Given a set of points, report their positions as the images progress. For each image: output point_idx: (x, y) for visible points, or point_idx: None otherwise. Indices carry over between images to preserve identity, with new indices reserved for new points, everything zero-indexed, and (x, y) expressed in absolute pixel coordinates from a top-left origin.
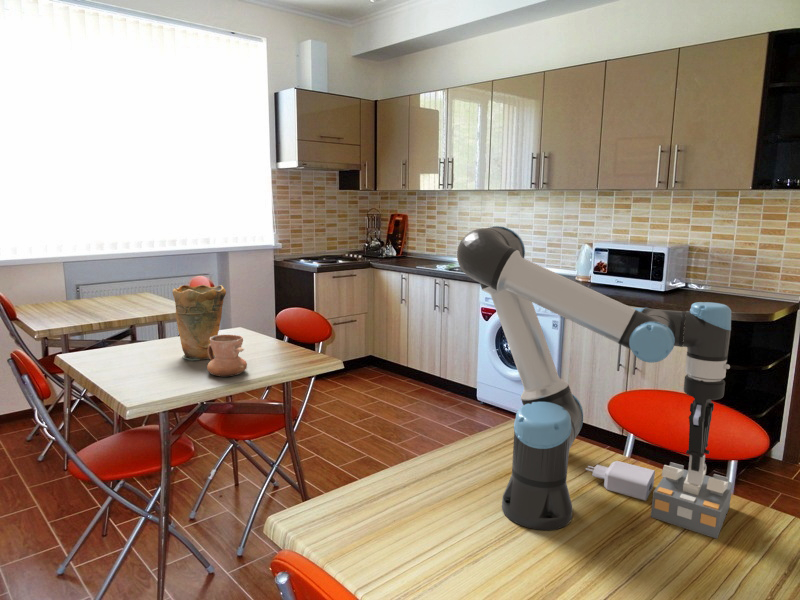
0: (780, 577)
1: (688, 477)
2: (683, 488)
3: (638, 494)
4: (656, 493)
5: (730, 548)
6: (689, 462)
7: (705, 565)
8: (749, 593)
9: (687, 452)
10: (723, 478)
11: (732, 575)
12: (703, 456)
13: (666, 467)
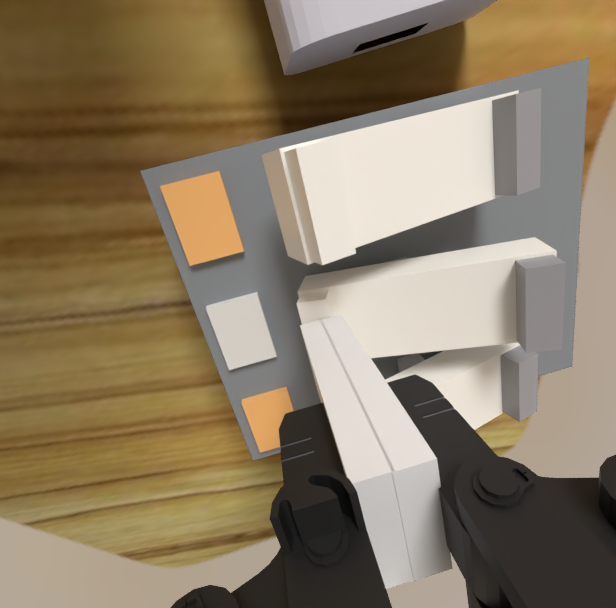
0: (213, 538)
1: (305, 344)
2: (302, 285)
3: (273, 26)
4: (150, 189)
5: (235, 429)
6: (326, 411)
7: (69, 436)
8: (66, 538)
9: (274, 528)
10: (513, 401)
11: (101, 489)
12: (389, 582)
13: (295, 177)
